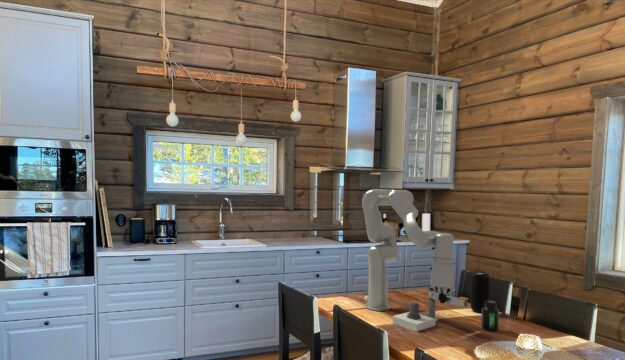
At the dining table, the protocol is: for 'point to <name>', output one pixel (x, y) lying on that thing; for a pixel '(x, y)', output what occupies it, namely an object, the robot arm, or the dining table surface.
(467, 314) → the dining table surface
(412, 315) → the plug
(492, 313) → the supplement bottle
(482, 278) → the portable speaker
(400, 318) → the socket block
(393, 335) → the dining table surface
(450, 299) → the grey long bar
